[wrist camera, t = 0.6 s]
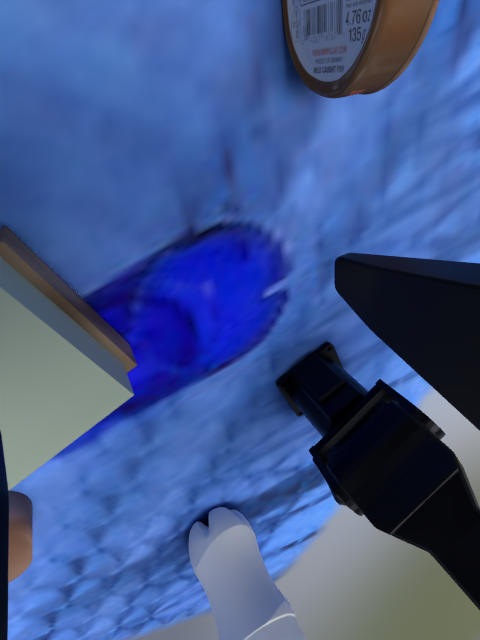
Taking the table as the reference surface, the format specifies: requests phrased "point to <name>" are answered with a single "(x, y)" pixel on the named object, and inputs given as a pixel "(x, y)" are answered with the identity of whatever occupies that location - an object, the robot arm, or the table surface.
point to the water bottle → (239, 581)
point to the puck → (19, 534)
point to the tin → (354, 41)
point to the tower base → (63, 296)
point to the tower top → (48, 377)
